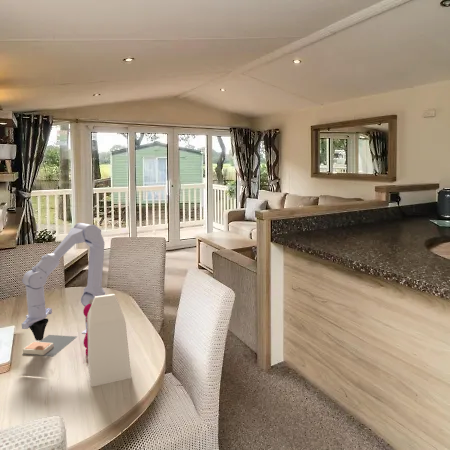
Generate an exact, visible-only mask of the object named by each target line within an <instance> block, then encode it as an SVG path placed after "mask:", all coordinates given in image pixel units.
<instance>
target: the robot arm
mask: <svg viewBox="0 0 450 450" xmlns="http://www.w3.org/2000/svg"><path fill="white" fill-rule="evenodd" d="M81 243H82V244H83V243H85V244H86V245H87V246H89V255H88V269H87V281H86V282H87V285H86V287H84V288H83V293H82V295H81V297H80V303H81V305H82V306H84V307H85V306H86V305H88V304H90V303H89V301H90V300H91V299H93V300H94V297H95V296H102V295H106V291H105V290H104V288H103V286H102V284H103V283H102V281H103V271H104V270H103V269H104V255H105V241H104V238H103V235H102V229H100V228H99V227H98V226H97V225H95V224H89V223H84V222H78V223H76V224H75V225H74V226H73V227H72V228H70V230H69V232H68V233H67V235H66V236H65V237H64V238H63V240H61V242H60V243H59V244H58V246H56V248H55V249H54V250H53V251H52V252H51V253H46V254H45V255H42V256H41V257H40V260H39V261H38V262H37V263H36V264H35V265H34V266H32V267H31V270H28V271H26V272H25V273H24V275H23V278H22V279H21V281H22V283H23V284H24V286H25V292H26V293H25V295H26V305H27V314H26V315H25V320H24V321H23V322H22V323H21V329H22V330H28V329H30V330H31V332H32V335H33V336H34V339H35V341H37V342H40V341H41V340H42V339H44V338H45V336H44V335H45V331H46V330H45V329H46V327H47V325H48V322H49V318H47V317H48V315H51V314H52V313H53V309H52V307H51V308H50V307H47V308H46V300H45V288H44V287H45V285H46V284H47V280H48V277H49V276H50V275H51V273H52V272H53V271H55V269H56V268H58V266H59V265H60V262H61V261H60V259H61V258H62V257H63V256H65V254H67V252H68V251H70V250H71V248H73V247H74V246H75V245H76V244H81ZM84 307H83V308H84ZM85 318H86V316H85V315H84V320H85V329H84V330H83V331H82V332H81V334H83V335H84V334H85V335H86V333H87V329H88V327H87V323H86V319H85Z"/></svg>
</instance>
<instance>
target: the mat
mask: <svg viewBox="0 0 450 450" xmlns="http://www.w3.org/2000/svg"><path fill="white" fill-rule="evenodd" d="M76 338H77V336H75V335H73V336H72V335H58V334H57V335H56V334H48V335H46V336H44V337H43V339H42V340H41V341H39V342H46V343H53V344H54V347H53V348H52V349H51V350H49V351H48V352H47V353H46V354H44V355H38V354H24V353H23V352H22V355H26V356H39V357H55V356H56V355H57V354H58V353H60V352H61V351H62V350H63V349H64V348H66V347H67V346H68V345H69V344H71V343H72V342H73V341H74V340H75V339H76Z"/></svg>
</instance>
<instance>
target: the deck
mask: <svg viewBox="0 0 450 450" xmlns="http://www.w3.org/2000/svg"><path fill="white" fill-rule="evenodd" d="M53 347H54V344H53V343H46V342H40V341H33V342H31V343H29V344H28V345H26V346H25V347H24V348H23V349H22V354H23V353H24V354H38V355H44V354H46V353H47V352H48V351H49V350H51V349H52V348H53Z"/></svg>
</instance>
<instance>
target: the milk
mask: <svg viewBox="0 0 450 450" xmlns="http://www.w3.org/2000/svg"><path fill="white" fill-rule="evenodd" d="M126 323H127V322H126V319H125V316H124V313H123V310H122V307H121V305H120V302H119V301H118V299H117V297H116V294H115V293H110V294H105V295H102V296H95V297H94V300H93V302H92V305H91V307H90V309H89V312H88V316H87V326H88V356H87V362H88V363H87V364H88V365H87V370H88V375H89V381H90V387H91V388H92V387H96V386H103V385H106V384H110V383H114V382H118V381H124V380H129V379H131V378H132V369H131V361H130V353H129V340H128V332H127V324H126Z"/></svg>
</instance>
